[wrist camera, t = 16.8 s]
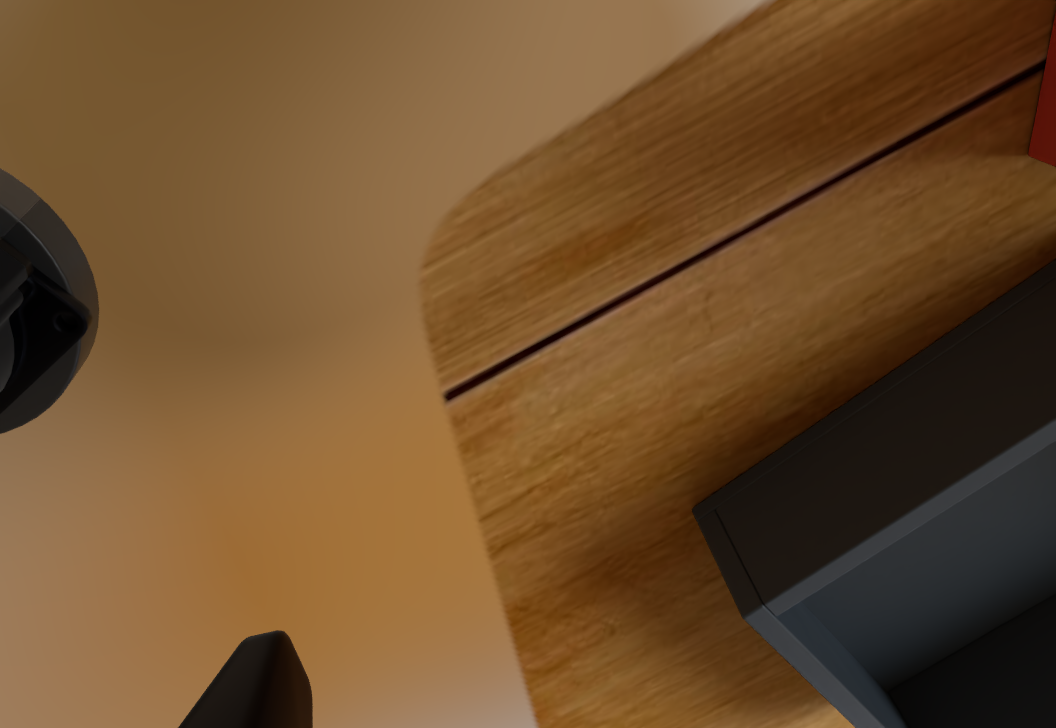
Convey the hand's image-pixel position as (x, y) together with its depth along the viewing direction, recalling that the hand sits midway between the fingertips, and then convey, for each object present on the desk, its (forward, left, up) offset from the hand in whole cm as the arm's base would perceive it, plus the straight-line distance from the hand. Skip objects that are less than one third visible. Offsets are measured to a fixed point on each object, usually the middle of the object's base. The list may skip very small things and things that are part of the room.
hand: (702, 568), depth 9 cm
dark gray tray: (+5, -18, -13) cm, 23 cm away
